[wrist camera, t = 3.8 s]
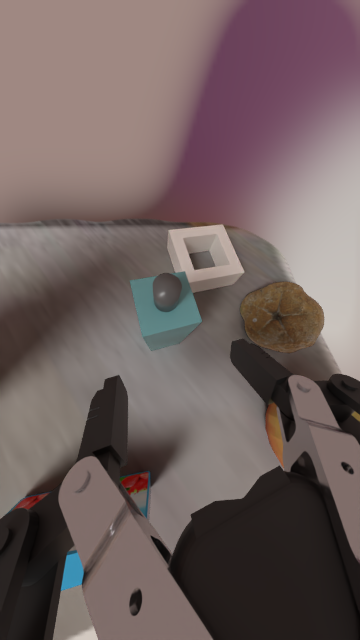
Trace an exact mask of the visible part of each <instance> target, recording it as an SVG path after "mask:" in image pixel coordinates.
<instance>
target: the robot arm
mask: <svg viewBox="0 0 360 640" xmlns="http://www.w3.org/2000/svg"><path fill="white" fill-rule="evenodd" d="M230 359H231V362H232V363H233V365H234V366H235V367H236V368H237V370H238V371H239V372H240V373H241V374H242V376H243V377H244V378H245V379H246V380H247V381H248V383H249V384H250V385H251V386H252V387H253V389H254V390H255V391H256V392H257V393H258V394H259V396H260V397H261V398H262V399H263V400H264V402H265V403H266V404H267V405H269V404H272V403H275V404H276V405H277V407H276V410H277V415H278V420H279V425H280V430H281V436H282V441H283V465H284V471H283V469H282V468H281V467H280V466H278V467H276V468H275V469H273V470H271V471H269V472H267V473H265V474H264V475H262V476H260V477H259V479H258V480H257V481H256V483H255V484H254V485H253V487H252V488H251V489H250V491H249V492H248V493H247V495H246V496H245V497H244V498H242V499H235V500H223V501H215V502H213V503H211V504H209V505H207V506H205V507H204V508H202V509H200V510H198V511H196V512H194V513H193V514H191V518H192V520H191V521H190V523H189V524H188V525H187V526H186V528H185V529H184V531H183V532H182V534H181V536H180V538H179V540H178V542H177V545H176V547H175V550H174V553H173V554H172V553H171V551H170V550H169V548H168V547H167V546H166V544H165V543H164V541H163V540H162V538H161V537H160V536H159V534H158V533H157V531H156V530H155V529H154V527H153V526H152V525H151V523H150V522H149V521H148V520H147V519H146V517H145V516H144V515H143V513H142V512H141V510H140V509H139V507H138V506H137V505H136V503H135V502H134V500H133V499H132V497H131V496H130V495H129V493H128V492H127V490H126V489H125V487H124V486H123V485H122V483H121V482H120V468H121V467H123V466H125V465H127V435H128V395H127V391H126V388H125V386H124V384H123V382H122V380H121V378H120V376H119V375H117V376H114V377H111V378H107V379H105V382H104V388H103V389H102V390H99V391H97V392H96V394H95V396H94V397H93V399H92V401H91V405H90V409H89V413H88V417H87V421H86V426H85V430H84V434H83V438H82V442H81V446H80V450H79V455H78V458H77V461H76V463H75V465H74V466H73V467H72V468H71V469H70V471H69V472H68V474H67V475H66V477H65V478H64V480H63V482H62V483H61V484H60V485H59V486H58V487H56V488H55V489H54V490H53V491H51V492H50V493H49V494H48V495H46V496H45V497H44V498H42V499H41V500H40V501H39V502H37V503H36V504H35V505H33V506H32V507H31V508H30V509H25V508H17V509H15V510H12V511H11V512H9V513H8V514H6V515H5V516H4V517H2V518H1V519H0V640H53V634H54V628H55V622H56V616H57V610H58V604H59V598H60V592H61V586H62V580H63V574H64V568H65V562H66V556H67V552H68V551H69V550H70V549H71V548H72V547H73V546H74V545H75V547H76V550H77V552H78V555H79V558H80V560H81V563H82V566H83V571H84V575H83V578H82V590H83V595H84V599H85V602H86V605H87V608H88V611H89V614H90V617H91V620H92V623H93V626H94V628H95V631H96V634H97V637H98V640H360V421H358V420H357V419H356V418H355V417H353V416H352V414H353V413H354V412H357V413H358V414H359V415H360V381H358V380H356V379H354V378H352V377H350V376H347V375H342V374H334V375H332V376H331V378H330V379H329V381H312V380H310V379H309V378H306V377H304V376H300V375H293V374H292V373H291V372H289V371H288V370H287V369H286V368H284V367H283V366H282V365H281V364H279V363H278V362H277V361H276V360H275V359H273V358H272V357H270V355H268V354H267V353H265V351H263V350H262V349H261V348H260V347H258V346H256V345H254V344H252V343H251V344H249V343H248V342H247V341H246V340H244V339H239V340H236V341H233V342H232V344H231V354H230Z"/></svg>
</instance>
